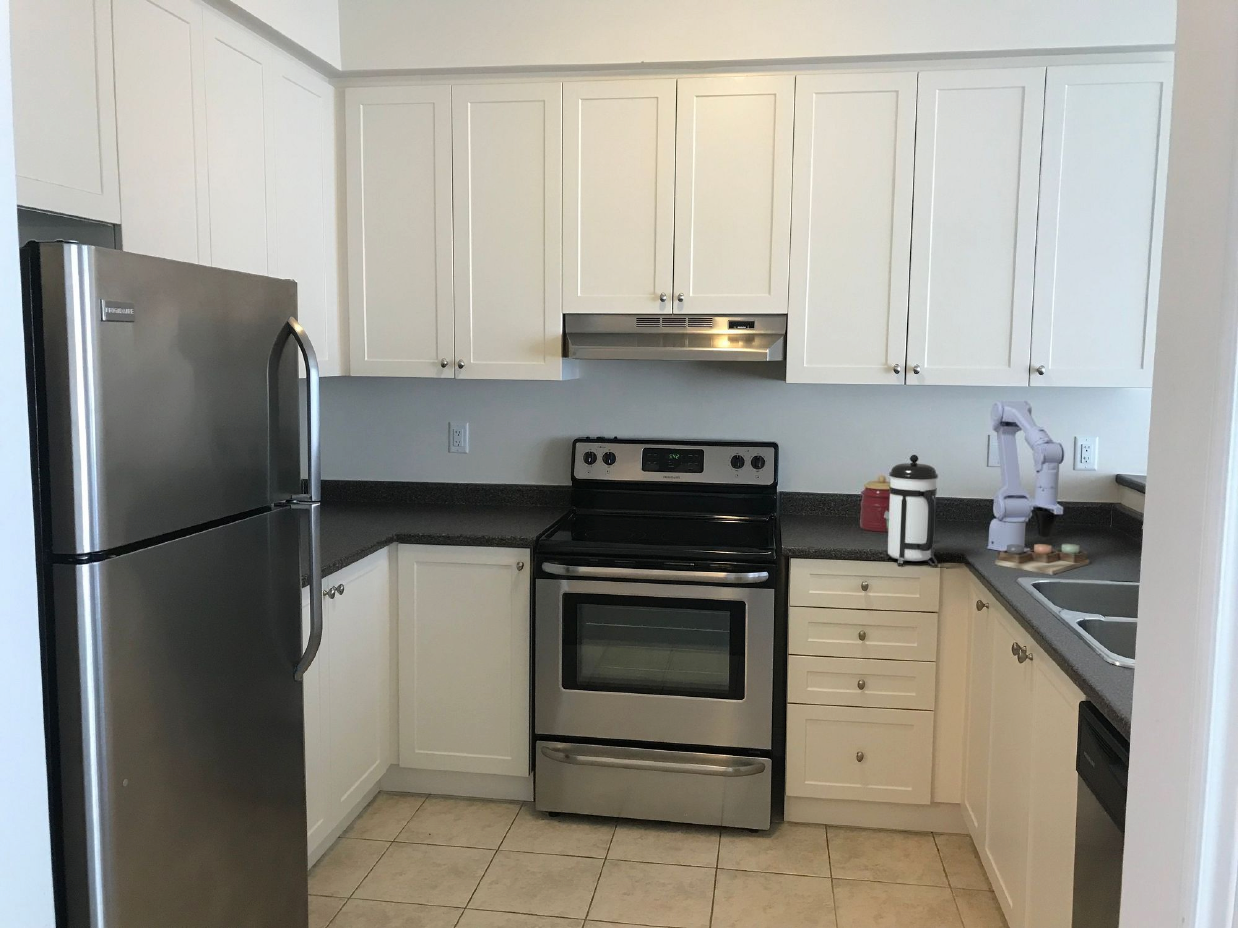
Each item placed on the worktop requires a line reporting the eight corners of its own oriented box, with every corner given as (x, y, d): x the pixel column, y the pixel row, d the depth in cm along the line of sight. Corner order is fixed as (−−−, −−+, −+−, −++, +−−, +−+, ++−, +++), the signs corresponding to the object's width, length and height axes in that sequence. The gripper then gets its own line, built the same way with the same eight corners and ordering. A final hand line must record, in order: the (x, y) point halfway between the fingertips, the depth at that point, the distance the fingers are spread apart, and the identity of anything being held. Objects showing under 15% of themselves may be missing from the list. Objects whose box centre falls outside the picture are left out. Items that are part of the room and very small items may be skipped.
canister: (893, 525, 325) (895, 473, 323) (905, 532, 312) (907, 478, 310) (855, 524, 325) (857, 472, 323) (865, 532, 312) (867, 478, 310)
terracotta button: (1030, 554, 267) (1031, 545, 266) (1038, 552, 269) (1039, 543, 269) (1046, 557, 263) (1047, 547, 263) (1054, 555, 266) (1054, 545, 266)
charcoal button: (1003, 554, 266) (1003, 545, 266) (1011, 552, 269) (1012, 543, 268) (1018, 557, 263) (1019, 548, 262) (1026, 555, 265) (1027, 546, 265)
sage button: (1058, 554, 267) (1058, 544, 267) (1065, 552, 270) (1066, 543, 270) (1074, 556, 264) (1074, 547, 264) (1081, 554, 267) (1082, 545, 266)
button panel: (995, 564, 266) (995, 552, 266) (1032, 554, 279) (1033, 542, 279) (1052, 574, 254) (1052, 562, 254) (1088, 563, 267) (1089, 551, 267)
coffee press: (870, 562, 267) (874, 455, 263) (896, 554, 279) (901, 450, 275) (930, 572, 255) (935, 460, 252) (955, 563, 267) (960, 455, 264)
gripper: (1019, 483, 271) (1016, 531, 273) (1046, 490, 257) (1043, 541, 258) (1043, 483, 272) (1040, 530, 273) (1071, 490, 257) (1068, 540, 259)
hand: (1043, 535), depth 266 cm, fingers closed
